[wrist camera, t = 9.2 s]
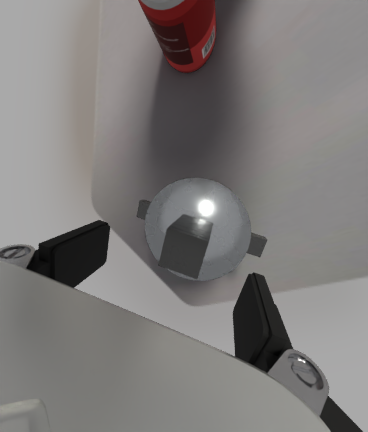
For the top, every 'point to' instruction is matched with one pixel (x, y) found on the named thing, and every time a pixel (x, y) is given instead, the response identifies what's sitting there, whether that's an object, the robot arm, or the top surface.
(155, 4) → the canned food
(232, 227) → the lid
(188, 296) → the top surface
